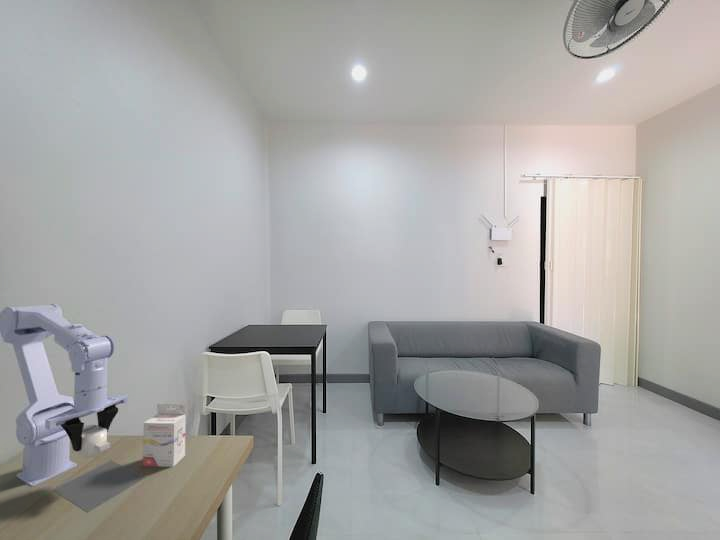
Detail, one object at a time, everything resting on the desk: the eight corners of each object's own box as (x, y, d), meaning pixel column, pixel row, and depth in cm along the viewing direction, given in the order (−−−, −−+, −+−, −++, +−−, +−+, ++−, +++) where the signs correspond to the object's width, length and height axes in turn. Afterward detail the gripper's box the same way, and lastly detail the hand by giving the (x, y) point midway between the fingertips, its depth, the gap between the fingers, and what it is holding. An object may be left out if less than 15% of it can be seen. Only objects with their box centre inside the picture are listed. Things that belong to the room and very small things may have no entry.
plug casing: (69, 450, 66) (69, 431, 66) (91, 441, 69) (91, 423, 69) (93, 462, 61) (94, 442, 61) (115, 452, 65) (116, 432, 65)
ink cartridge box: (141, 468, 71) (142, 411, 71) (156, 456, 75) (157, 402, 76) (173, 468, 70) (174, 411, 71) (186, 456, 75) (186, 402, 76)
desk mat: (52, 491, 63) (52, 489, 63) (111, 461, 73) (111, 460, 73) (87, 514, 57) (87, 512, 57) (146, 478, 67) (146, 477, 67)
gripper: (56, 402, 58) (54, 467, 57) (135, 379, 71) (134, 432, 71) (41, 397, 61) (39, 459, 60) (120, 376, 74) (119, 426, 73)
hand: (89, 444), depth 66 cm, fingers closed on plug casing, 4 cm apart
